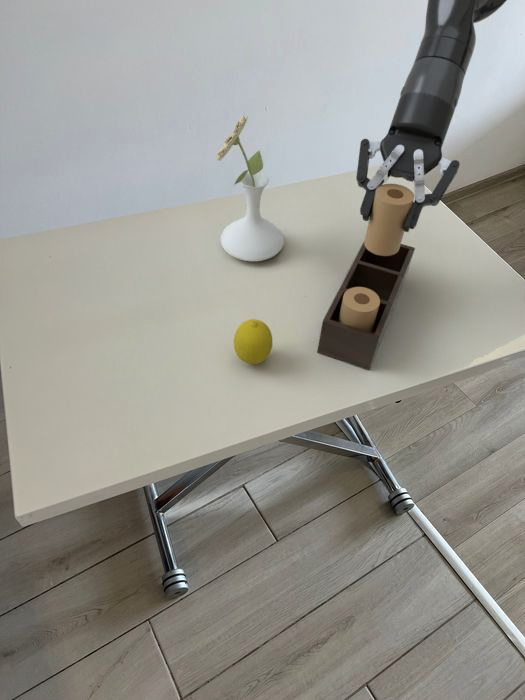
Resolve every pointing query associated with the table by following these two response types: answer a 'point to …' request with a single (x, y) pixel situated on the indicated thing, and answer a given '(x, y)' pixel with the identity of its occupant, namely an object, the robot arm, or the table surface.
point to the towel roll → (388, 219)
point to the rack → (387, 283)
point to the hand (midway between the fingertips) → (385, 224)
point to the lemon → (253, 341)
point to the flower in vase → (250, 210)
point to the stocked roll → (359, 308)
